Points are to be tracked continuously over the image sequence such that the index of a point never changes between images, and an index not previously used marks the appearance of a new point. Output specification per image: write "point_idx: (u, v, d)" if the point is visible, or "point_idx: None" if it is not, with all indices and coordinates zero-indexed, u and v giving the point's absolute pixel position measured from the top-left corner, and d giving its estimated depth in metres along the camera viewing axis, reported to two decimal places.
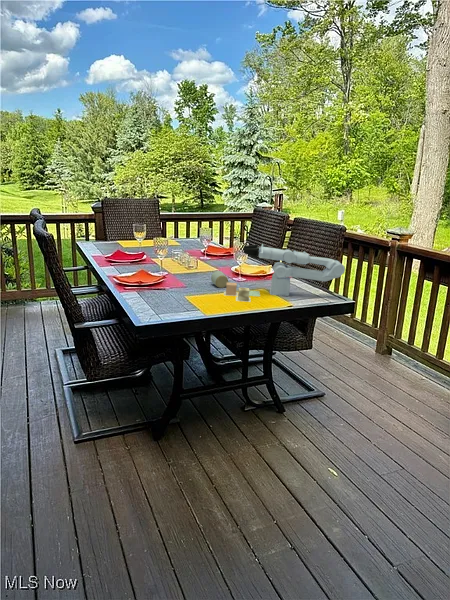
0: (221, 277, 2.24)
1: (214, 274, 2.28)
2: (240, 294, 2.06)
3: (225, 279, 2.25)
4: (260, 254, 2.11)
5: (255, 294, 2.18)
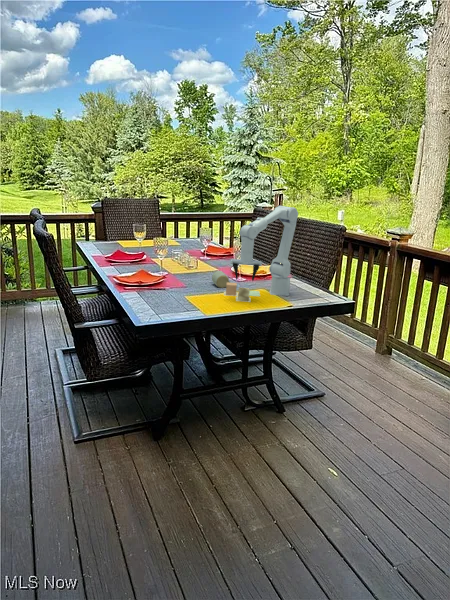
0: (222, 277, 2.24)
1: (215, 274, 2.29)
2: (240, 294, 2.06)
3: (226, 279, 2.25)
4: None
5: (255, 294, 2.18)
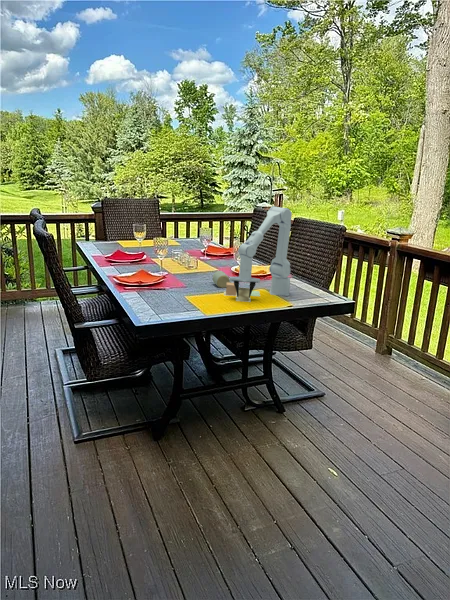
0: (222, 277, 2.24)
1: (215, 274, 2.29)
2: (240, 294, 2.06)
3: (226, 279, 2.26)
4: (259, 281, 2.07)
5: (255, 294, 2.18)
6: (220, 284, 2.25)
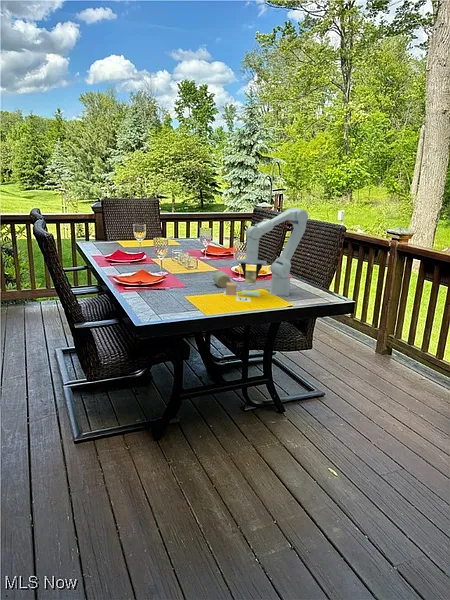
0: (223, 277, 2.25)
1: (216, 274, 2.29)
2: (247, 277, 2.11)
3: (227, 279, 2.26)
4: None
5: (255, 294, 2.18)
6: (221, 284, 2.25)
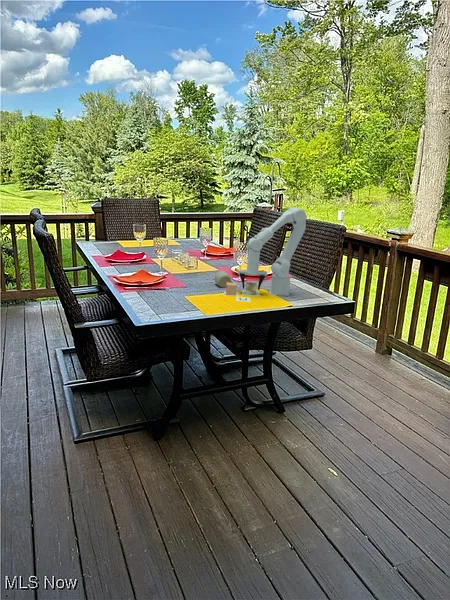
0: (224, 277, 2.25)
1: (217, 274, 2.29)
2: (248, 288, 2.16)
3: (228, 279, 2.26)
4: (266, 274, 2.17)
5: None
6: (222, 284, 2.26)
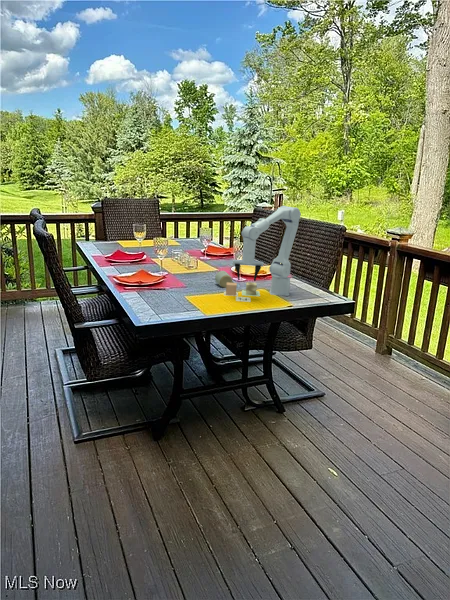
0: (225, 277, 2.25)
1: (218, 274, 2.29)
2: (248, 288, 2.16)
3: (229, 279, 2.26)
4: None
5: None
6: (223, 284, 2.26)
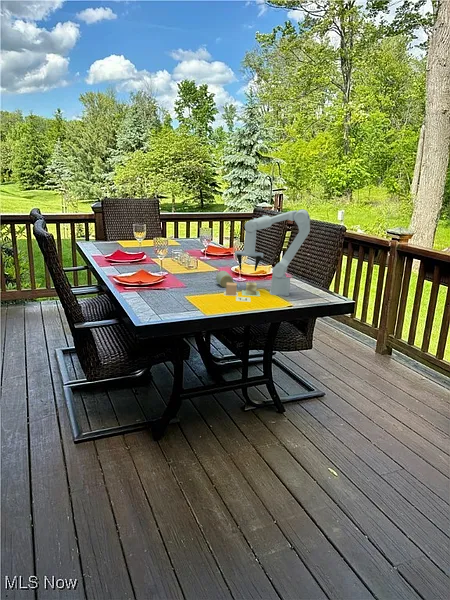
0: (226, 277, 2.25)
1: (219, 274, 2.29)
2: (248, 288, 2.16)
3: (230, 279, 2.26)
4: None
5: None
6: (223, 284, 2.26)
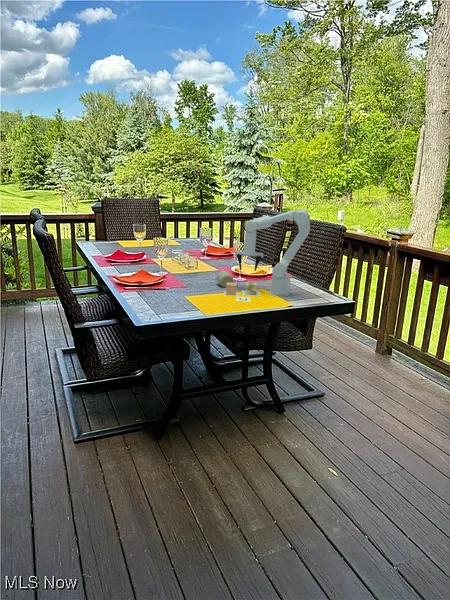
0: (226, 277, 2.25)
1: (219, 274, 2.29)
2: (248, 288, 2.16)
3: (230, 279, 2.26)
4: None
5: None
6: (224, 284, 2.26)
